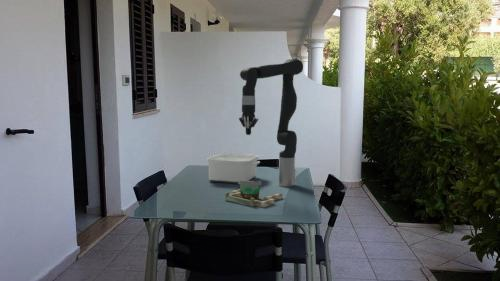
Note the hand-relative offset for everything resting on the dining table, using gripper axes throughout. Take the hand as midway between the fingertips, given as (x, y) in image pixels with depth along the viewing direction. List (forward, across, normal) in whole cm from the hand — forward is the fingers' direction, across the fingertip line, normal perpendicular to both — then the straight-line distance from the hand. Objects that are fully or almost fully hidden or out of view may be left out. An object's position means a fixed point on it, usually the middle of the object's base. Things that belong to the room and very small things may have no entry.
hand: (248, 134), depth 258 cm
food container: (+32, -15, +15) cm, 39 cm away
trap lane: (+32, -16, +13) cm, 38 cm away
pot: (+32, +27, -16) cm, 45 cm away
